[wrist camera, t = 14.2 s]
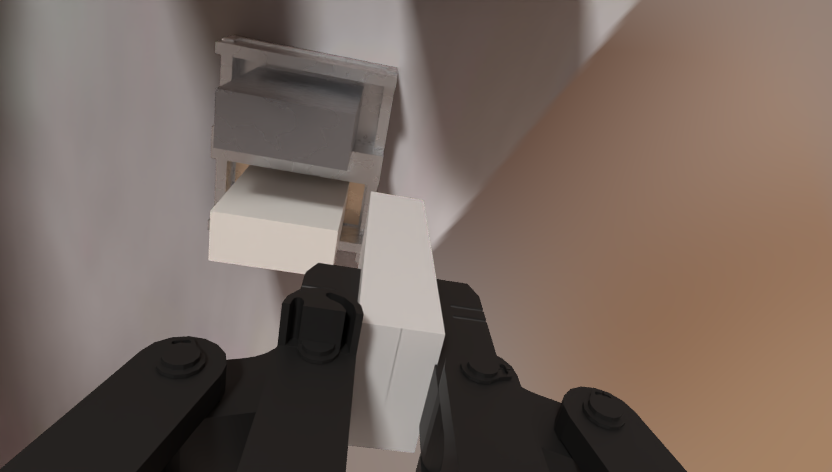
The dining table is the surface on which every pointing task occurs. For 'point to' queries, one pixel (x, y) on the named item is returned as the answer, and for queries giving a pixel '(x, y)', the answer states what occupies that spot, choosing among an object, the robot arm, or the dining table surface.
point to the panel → (278, 220)
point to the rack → (302, 120)
